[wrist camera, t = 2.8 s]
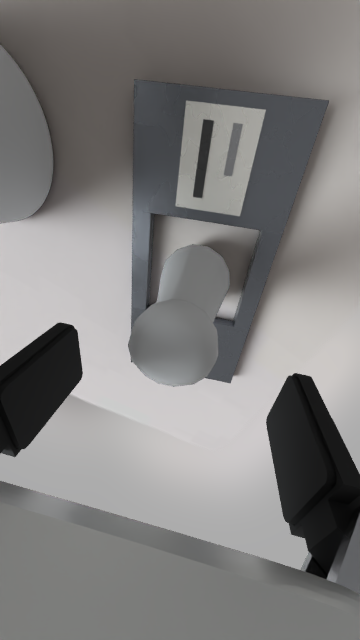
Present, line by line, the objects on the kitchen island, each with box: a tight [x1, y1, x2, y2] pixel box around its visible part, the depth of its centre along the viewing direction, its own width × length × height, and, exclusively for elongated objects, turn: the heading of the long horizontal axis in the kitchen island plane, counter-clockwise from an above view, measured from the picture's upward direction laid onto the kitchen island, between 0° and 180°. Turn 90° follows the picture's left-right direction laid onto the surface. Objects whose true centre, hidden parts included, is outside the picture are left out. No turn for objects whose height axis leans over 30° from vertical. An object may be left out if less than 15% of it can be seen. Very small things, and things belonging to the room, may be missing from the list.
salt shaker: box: [128, 244, 230, 387], centre depth 15 cm, size 6×6×13 cm
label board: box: [131, 79, 329, 383], centre depth 20 cm, size 24×12×2 cm, turn 173°
